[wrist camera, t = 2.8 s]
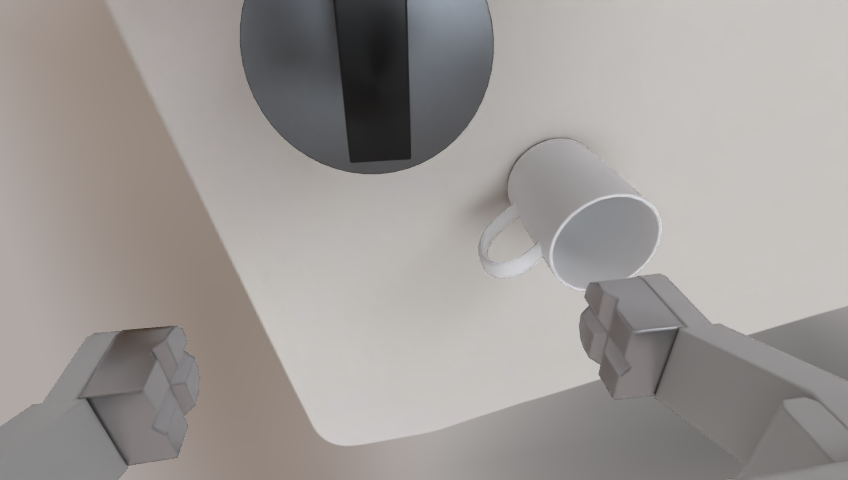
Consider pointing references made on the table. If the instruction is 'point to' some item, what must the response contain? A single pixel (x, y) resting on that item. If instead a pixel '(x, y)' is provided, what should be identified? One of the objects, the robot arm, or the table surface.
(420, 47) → the bin
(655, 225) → the mug
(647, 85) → the table surface
